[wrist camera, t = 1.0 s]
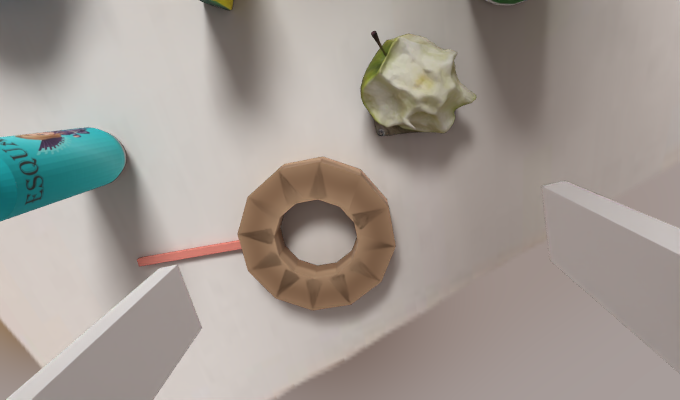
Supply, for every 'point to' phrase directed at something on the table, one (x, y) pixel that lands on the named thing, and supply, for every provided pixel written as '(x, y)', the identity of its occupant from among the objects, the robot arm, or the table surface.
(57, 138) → the beverage can
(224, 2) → the crayon box
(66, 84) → the table surface
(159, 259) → the stick
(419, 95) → the fruit
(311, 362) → the table surface
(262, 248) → the tan flat ring
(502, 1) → the soda can
